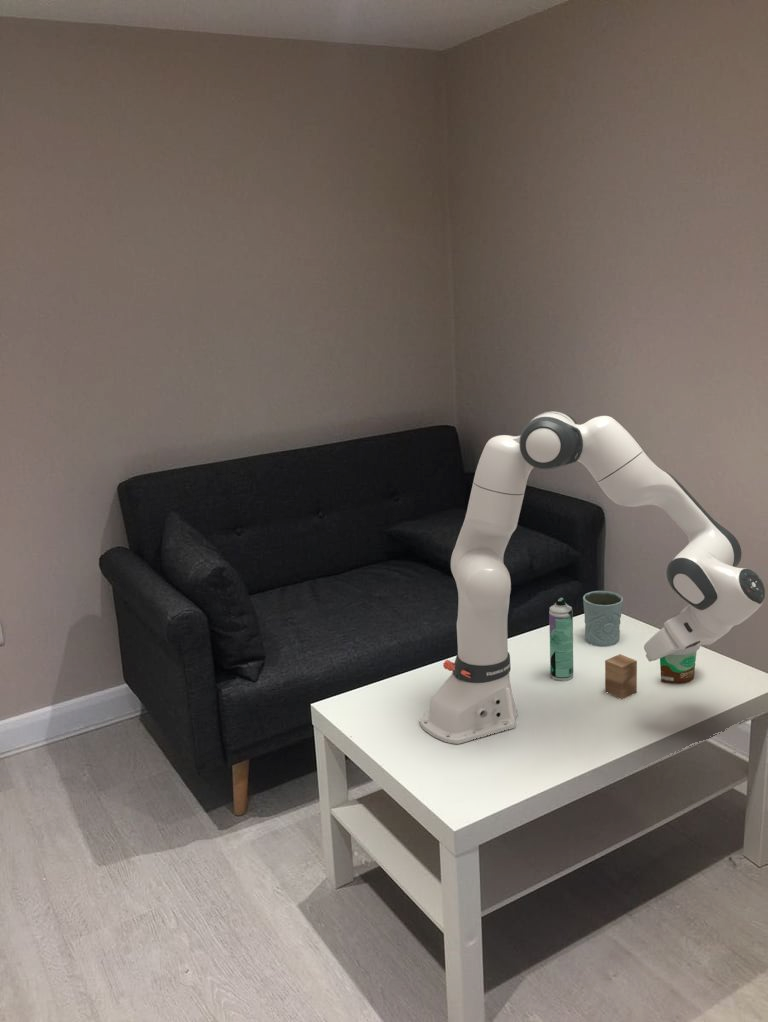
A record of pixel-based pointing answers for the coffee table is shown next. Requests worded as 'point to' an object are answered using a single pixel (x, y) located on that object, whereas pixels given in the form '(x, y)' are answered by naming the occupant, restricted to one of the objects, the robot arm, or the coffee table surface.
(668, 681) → the ice cream tub
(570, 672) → the spray can
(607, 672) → the walnut block
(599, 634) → the plant pot
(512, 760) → the coffee table surface
